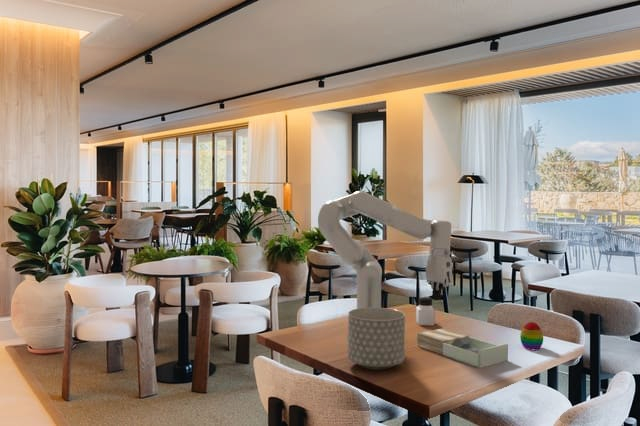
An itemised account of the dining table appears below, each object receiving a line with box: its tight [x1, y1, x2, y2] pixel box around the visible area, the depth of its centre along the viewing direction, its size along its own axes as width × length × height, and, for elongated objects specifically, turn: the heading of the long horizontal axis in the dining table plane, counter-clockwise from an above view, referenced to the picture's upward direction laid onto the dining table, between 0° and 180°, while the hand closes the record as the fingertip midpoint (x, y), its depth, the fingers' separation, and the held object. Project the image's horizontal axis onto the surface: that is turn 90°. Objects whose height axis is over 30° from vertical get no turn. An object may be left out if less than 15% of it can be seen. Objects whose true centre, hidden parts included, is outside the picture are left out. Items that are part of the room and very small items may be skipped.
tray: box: [442, 336, 509, 369], centre depth 185 cm, size 15×17×6 cm
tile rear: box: [455, 337, 473, 348], centre depth 190 cm, size 5×5×2 cm
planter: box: [347, 307, 406, 371], centre depth 175 cm, size 19×19×18 cm
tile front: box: [461, 346, 480, 354], centre depth 186 cm, size 5×5×2 cm
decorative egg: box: [519, 321, 544, 350], centre depth 198 cm, size 8×8×10 cm
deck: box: [417, 328, 470, 356], centre depth 198 cm, size 14×13×5 cm
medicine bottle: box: [415, 296, 436, 326], centre depth 235 cm, size 7×7×12 cm
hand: (436, 299), depth 200 cm, fingers closed
